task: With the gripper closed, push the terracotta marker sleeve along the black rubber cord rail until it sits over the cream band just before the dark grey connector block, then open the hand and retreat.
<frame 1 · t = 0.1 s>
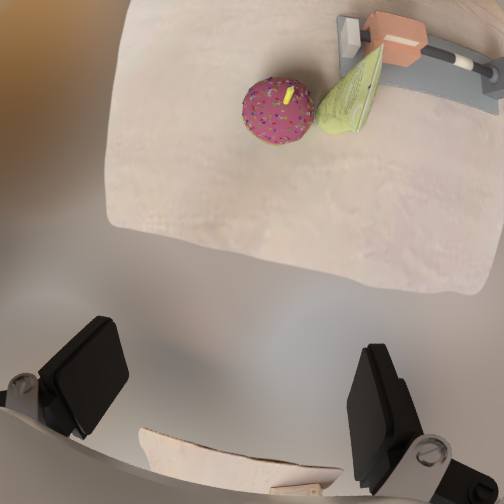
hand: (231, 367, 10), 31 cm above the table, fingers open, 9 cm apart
cupcake: (280, 116, 35), on the table
tube: (332, 118, 34), on the table
coffeecake box: (296, 488, 63), on the table
sleeve: (393, 37, 24), point 6 cm above the table, slide at 0.0 cm
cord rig: (417, 61, 29), on the table
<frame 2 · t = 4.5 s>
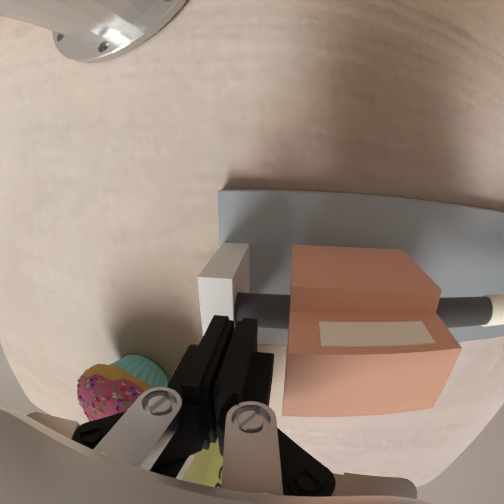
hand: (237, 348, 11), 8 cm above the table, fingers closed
cupcake: (145, 374, 23), on the table
tube: (219, 387, 22), on the table
sleeve: (356, 328, 12), point 6 cm above the table, slide at 1.2 cm, touching gripper
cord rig: (407, 275, 17), on the table
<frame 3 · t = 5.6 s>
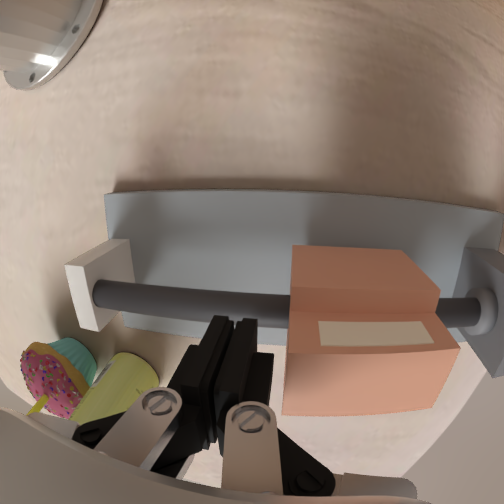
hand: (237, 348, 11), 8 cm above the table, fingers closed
cupcake: (80, 356, 24), on the table
tube: (136, 371, 23), on the table
sleeve: (356, 328, 12), point 6 cm above the table, slide at 9.1 cm, touching gripper
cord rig: (289, 271, 18), on the table
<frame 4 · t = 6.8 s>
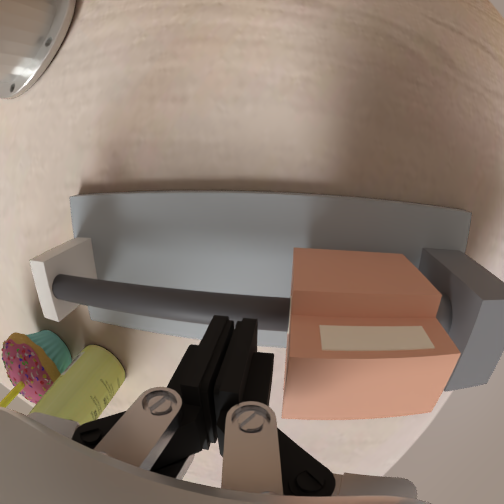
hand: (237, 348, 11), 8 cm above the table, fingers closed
cupcake: (57, 348, 25), on the table
tube: (105, 364, 24), on the table
sleeve: (356, 332, 12), point 6 cm above the table, slide at 12.5 cm, touching gripper
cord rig: (235, 270, 18), on the table
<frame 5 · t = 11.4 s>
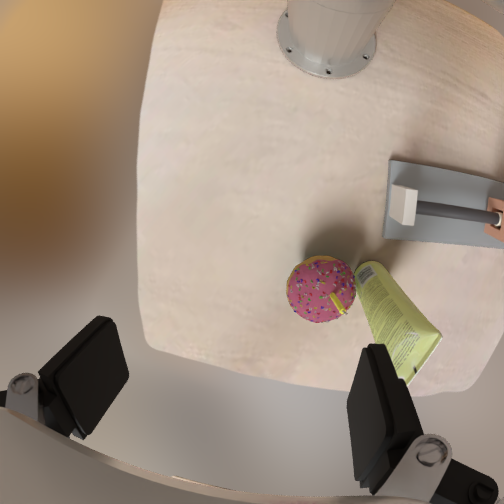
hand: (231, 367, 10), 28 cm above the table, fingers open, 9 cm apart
cupcake: (319, 275, 38), on the table
tube: (368, 277, 38), on the table
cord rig: (459, 208, 32), on the table
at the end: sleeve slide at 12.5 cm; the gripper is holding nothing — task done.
